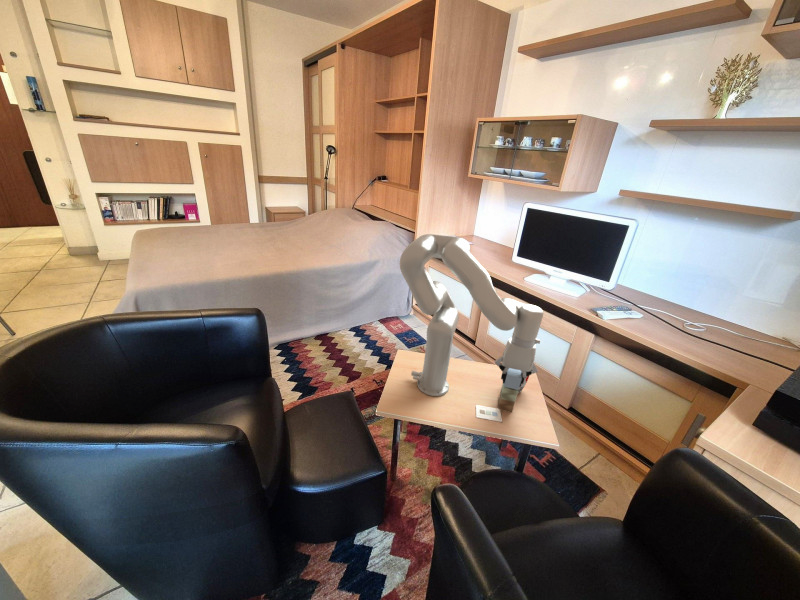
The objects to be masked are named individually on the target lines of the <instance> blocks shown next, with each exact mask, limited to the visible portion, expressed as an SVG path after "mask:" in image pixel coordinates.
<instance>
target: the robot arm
mask: <svg viewBox="0 0 800 600" xmlns="http://www.w3.org/2000/svg"><path fill="white" fill-rule="evenodd" d="M399 258H400V259H399V270H400V272H401V275H402V276H403V279H404V280H405V283H406V284H407V286H408V289H409V290H410V292H411V294H412V297H413V298H414V300H415V302H416V304H417V307H418V308H419V311H420V312H421V313H422V314H424V315H426V316H432V315H433V316H432V317H431V319H430V321H429V323H428V325H427V328H426V343H425V351H424V353H425V354H424V360H423V368H422V371H415V370H412V371H411V376H412V380H415V381H417V382H416V385H417V388H418V390H419V391H420V392H422V393H423V394H425V395H427V396H431V397H440V396H444V395H445V394H446V393H448V391H449V388H450V385H449V382H448V380H447V377H448V372H449V371H448V370H449V365H450V359H451V354H452V347H453V340H454V339H453V338H454V335H455V332H456V329H457V327H458V324H459V319H460V315H459V311H458V310H457V307H456V305H455V302H454V301H453V299H452V297H451V294H450V292H449V290H448V288H447V287H446V286H445V284H443V283H442V282H440V281H436V280H432V277H431V275H430V273H429V272H428V270H427V269H426V267H425V265H426V264H427V263H429V261H430V260H431V259H432V258H435V259H441V260H442V262H443V264H444V265H445V266H446V267H447V269H449V270H450V272H452V274H454V276H455V277H456V278H457V279H458V280H459V281H460V283H462V284H463V286H464V287H465V288H466V289H467V290H468V292H469V294H470V296H471V298H472V299H473V301H474V303H475V304H476V306H477V307H478V309H479V310H480V311H481V314H482V315H483V316H485V318H486V319H487V320H488V321H489V322H490V323H491V325H492V326H494V327H495V328H496V329H499V330H500V331H506V332H507V331H511V330H512V329H513V332H512V335H511V337H509V338H508V339H507V341H506V344H505V347H504V350H503V352H502V355H501V356H500V357H498V358H496V359H495V361H494V364H495V365H496V366H497V367H498V368H499V369H500V371H501V372H502V373H501V377H500V379H501V380H502V384H503V383H505V379H506V376H507V371H508V369H509V368H512V369H516V370H521V371H522V373H521V375H522V380H521V383H520V387H521V384H523V382H524V379H525V378H526V377H527V376H529V375H530V376H531V375H533V374H536V373H538V372H539V371H538V368H537V366H536V365H535V357H536V350H537V347H536V346H537V345H536V344H540V343H541V339H538V338H537V337H538V334H539V330H540V327H541V324H542V321H543V318H544V311H543V309H542V308H541V307H539V306H537V305H534V304H529V303H528V304H527V303H523V302H520V301H518V300H515V299H512V298H508V297H504V298H501V297H500V296H499V294H498V293H497V292H496V290H495V288H494V285H493V282H492V278H491V276H490V274H489V272H488V271H487V269H486V268H484V267H483V266H482V264H481V263H480V262H479V261H478V260H477V259H476V258H475V257H474V256H473V254H472V253H471V246H470V243H469V242H468V241H467V240H466V239H464V238H463V237H460V236H459V237H458V236H451V235H450V236H449V235H439V234H431V233H428V234H427V233H426V234H423V235H420V236H419V237H417V238H416V239H414V240H413V241H412V242H410V243H409V244H408V245H407V246H406V248H404V250H403V251H402V253H401V255H400V257H399ZM530 376H529V377H530Z"/></svg>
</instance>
